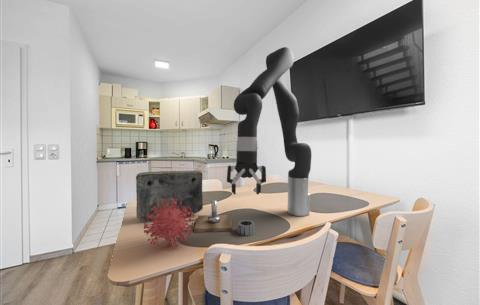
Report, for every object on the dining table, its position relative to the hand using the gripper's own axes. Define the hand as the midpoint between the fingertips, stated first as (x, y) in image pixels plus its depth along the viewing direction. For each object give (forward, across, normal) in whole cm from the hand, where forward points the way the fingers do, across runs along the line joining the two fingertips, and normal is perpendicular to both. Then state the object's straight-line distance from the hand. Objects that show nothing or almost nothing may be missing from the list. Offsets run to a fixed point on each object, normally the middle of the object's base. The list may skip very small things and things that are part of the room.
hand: (246, 193), depth 74 cm
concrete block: (+14, +31, -17) cm, 38 cm away
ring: (+14, 0, 0) cm, 14 cm away
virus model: (+14, +25, +9) cm, 30 cm away
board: (+14, +12, -8) cm, 20 cm away
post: (+13, +12, -8) cm, 19 cm away
